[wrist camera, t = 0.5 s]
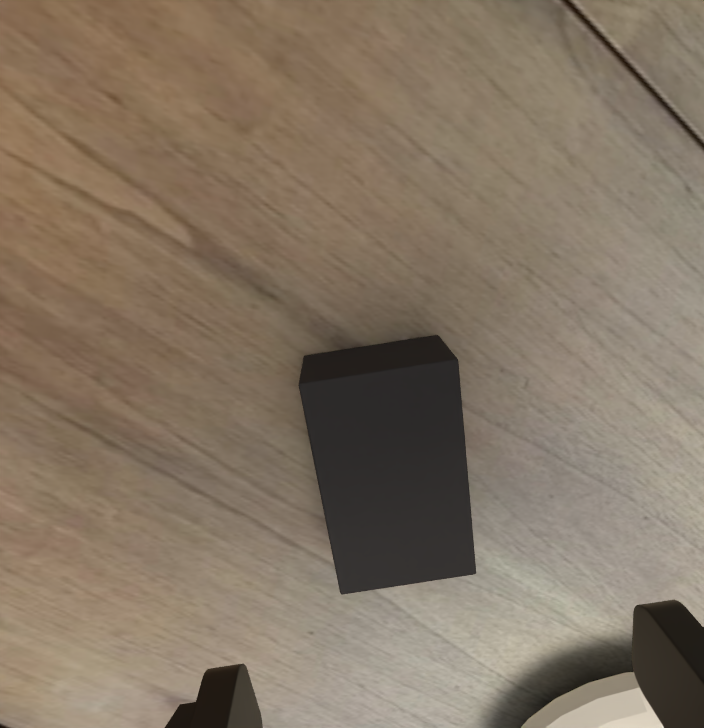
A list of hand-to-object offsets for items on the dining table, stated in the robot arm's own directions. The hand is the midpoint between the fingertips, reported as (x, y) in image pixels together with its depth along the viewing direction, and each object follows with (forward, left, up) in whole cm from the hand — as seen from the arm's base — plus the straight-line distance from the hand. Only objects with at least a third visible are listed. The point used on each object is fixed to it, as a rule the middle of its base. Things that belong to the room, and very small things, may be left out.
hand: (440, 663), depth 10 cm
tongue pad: (+2, 0, -13) cm, 13 cm away
